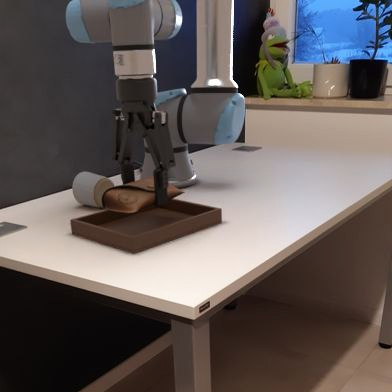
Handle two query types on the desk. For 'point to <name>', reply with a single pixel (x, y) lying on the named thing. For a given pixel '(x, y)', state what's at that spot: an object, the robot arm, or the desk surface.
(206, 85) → the robot arm
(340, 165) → the desk surface
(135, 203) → the sunglasses case
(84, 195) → the ceramic mug
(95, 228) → the valet tray
